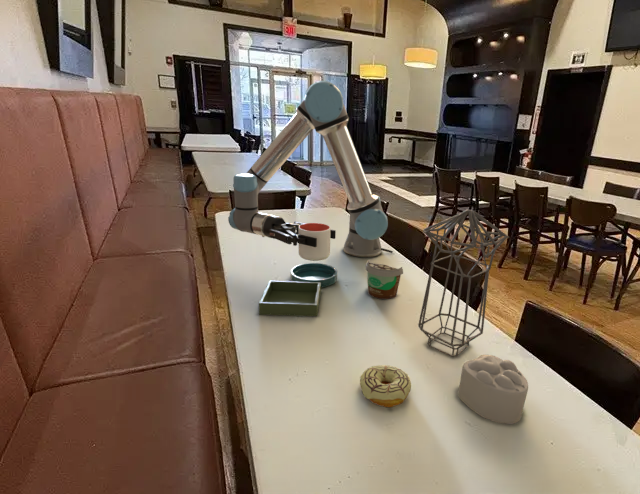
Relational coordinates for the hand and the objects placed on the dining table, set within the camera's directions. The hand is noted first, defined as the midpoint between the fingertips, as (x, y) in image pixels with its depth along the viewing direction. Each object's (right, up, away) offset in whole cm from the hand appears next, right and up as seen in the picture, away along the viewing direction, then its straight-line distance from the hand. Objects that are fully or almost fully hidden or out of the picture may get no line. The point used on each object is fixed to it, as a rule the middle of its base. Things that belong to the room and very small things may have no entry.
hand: (325, 238), depth 130 cm
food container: (+17, -18, 0) cm, 25 cm away
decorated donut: (+18, -36, -44) cm, 60 cm away
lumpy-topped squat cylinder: (+41, -38, -45) cm, 71 cm away
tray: (-9, -20, -10) cm, 23 cm away
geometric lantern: (+35, -29, -25) cm, 52 cm away
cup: (-4, -6, +4) cm, 8 cm away
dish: (-5, -13, +7) cm, 16 cm away
